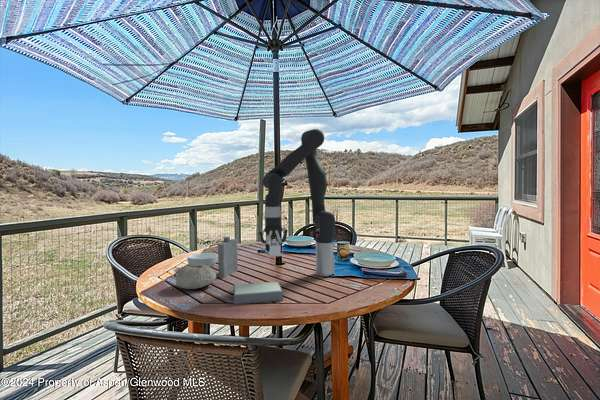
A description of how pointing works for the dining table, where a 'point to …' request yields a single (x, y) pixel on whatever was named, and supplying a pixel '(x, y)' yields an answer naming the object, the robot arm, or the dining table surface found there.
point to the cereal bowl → (203, 259)
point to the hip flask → (227, 257)
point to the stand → (257, 292)
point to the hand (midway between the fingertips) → (273, 251)
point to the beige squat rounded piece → (195, 276)
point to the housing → (274, 249)
